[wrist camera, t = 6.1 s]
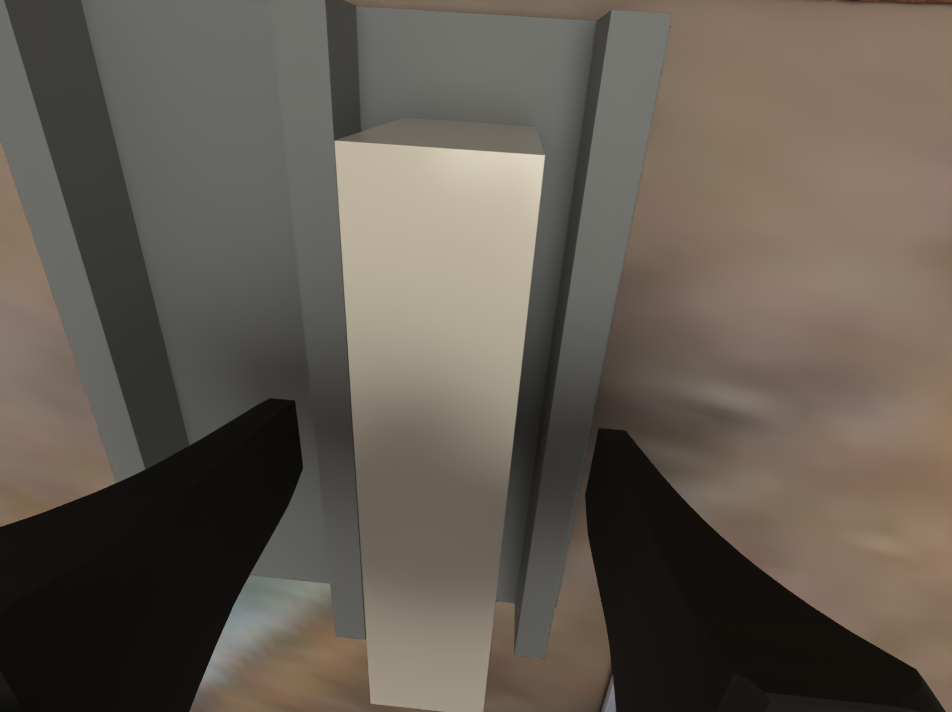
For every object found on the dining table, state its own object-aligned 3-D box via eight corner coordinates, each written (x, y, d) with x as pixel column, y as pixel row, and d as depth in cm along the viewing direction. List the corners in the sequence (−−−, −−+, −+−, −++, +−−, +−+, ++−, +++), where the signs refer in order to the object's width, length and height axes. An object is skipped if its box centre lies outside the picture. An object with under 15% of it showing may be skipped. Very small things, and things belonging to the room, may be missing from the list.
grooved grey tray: (554, 583, 20) (559, 661, 17) (195, 547, 21) (147, 616, 18) (659, 29, 12) (700, 15, 9) (47, -9, 12) (-85, -33, 10)
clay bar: (491, 563, 18) (482, 716, 14) (406, 554, 18) (370, 703, 14) (536, 126, 12) (545, 155, 7) (403, 117, 12) (334, 140, 8)
